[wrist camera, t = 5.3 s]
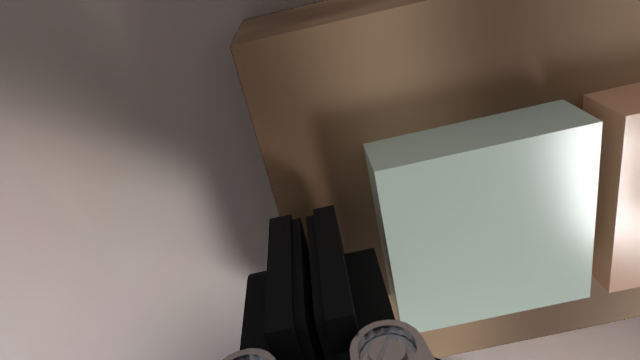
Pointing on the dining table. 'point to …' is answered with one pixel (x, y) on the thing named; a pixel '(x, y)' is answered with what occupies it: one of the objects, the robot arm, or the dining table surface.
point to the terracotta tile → (617, 187)
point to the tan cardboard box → (423, 107)
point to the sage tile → (488, 214)
